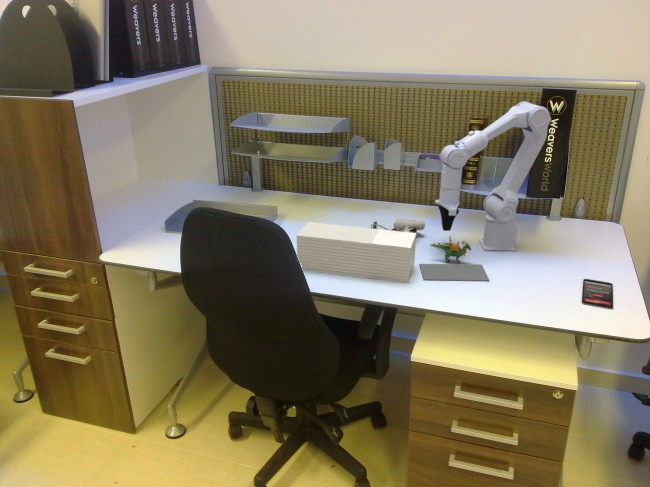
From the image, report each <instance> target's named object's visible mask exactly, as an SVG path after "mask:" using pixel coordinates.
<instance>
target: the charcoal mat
mask: <svg viewBox="0 0 650 487" xmlns="http://www.w3.org/2000/svg"><path fill="white" fill-rule="evenodd" d="M419 269H420V273H421V276H422V280H423V281H433V282H434V281H437V282H438V281H441V282H442V281H443V282H444V281H445V282H446V281H448V282H449V281H450V282H451V281H452V282H490V280H491V279H490V278H489V276H488V274H487V272H486V271H485V268H484V266H483V264H476V263H475V264H474V263H473V264H470V263H469V264H465V263H462V264H461V263H460V264H459V263H457V264H455V263H419Z"/></svg>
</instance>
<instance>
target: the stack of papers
mask: <svg viewBox="0 0 650 487" xmlns="http://www.w3.org/2000/svg"><path fill="white" fill-rule="evenodd" d="M416 236H417V235H416V233H412V232H402V231H392V230H391V229H389V230H386V229H383V228H382V229H381V228H380V229H379V228H376V229H373V227H372V228H371V227H361V226H351V225H340V224H331V223H322V222H313V221H307V223H306V224H305V225H304V226H303V227H302V229H300V231H299V232H298V233H297V234H296V257H297V256H298V258H299V261H300V263H301V265H302V269H303V270H302V271H309V272H318V273H327V274H334V275H339V276H341V275H342V276H349V277H350V276H351V277H357V278H358V277H359V278H367V279H372V280H373V279H375V280H382V281H389V282H398V283H406V284H409V283H410V281H411V277H412V274H413V271H414V268H415V260H416V259H415V257H416V255H415V254H416V246H417V245H416V243H417V238H416Z"/></svg>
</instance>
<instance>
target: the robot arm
mask: <svg viewBox="0 0 650 487" xmlns="http://www.w3.org/2000/svg"><path fill="white" fill-rule="evenodd" d="M551 121H552V117H551V115H550V112H549V110H548V109H547V108H546V107H544V106H542V105H538V104H534V103H530V101H524V100H523V101H521V102H519V103H517V104H516V105H513V106H512V107H510V108H509V110H508V111H507V112H506V113H505V114H503V115H502V116H500V117H499V118H498V119H496V120H495V121H494V122H493V123H490V124H489V125H488V126H487V127H486V128H483V130H477V129H476V130H474V131H473V130H471V131H468V135H466V136H464V137H463V138H461V139H460V140H456V141H454V144H449V145H446V146H444V147H443V148H442V150H441V153H439V160H440V161H441V163H442V167H441V178H440V188H439V189H440V190H439V199H435V200H434V203H435V204H436V205H438V206H437V207H438V210H439V212H440V218H441V228H442V230H443V232H444V231H447V232H449V231H452V230H451V229H452V227H453V223H454V221H455V219H456V217H457V215H458V214H459V212H460V211H459V206H460V204H461V203H460V195H461V184H462V177H463V176H462V175H463V174H462V173H463V168H464V167H465V165H466V164H467V163H468V160H469V159H470V158H472V157H474V156H475V155H476V154H477V153H480V152H481V151H483V150H484V149H486V148H487V147H488V144H489V142H490V141H491V140H493V139H494V138H496V137H499V136H500V135H502V134H504V133H505V132H506V131H509V130H511V129H512V128H521V131H522V132H523V135H524V139H523V142H522V143H521V145H520V147H519V149H518V150H517V152H516V155H515V157H514V158H513V160H512V162H511V164H510V166H509V167H508V170H507V172H506V173H505V176H503V177H504V178H503V179H502V180H501V183H500V184H499V185H498V186H496V187H494V188H493V189H492V190H491V192H490V194H489V195H487V196H486V197H485V198H484V200H483V204H482V207H483V209H484V211H485V221H484V222H485V223H484V228H483V229H484V230H483V238H479V242H480V244H481V246H482V248H483V250H484V251H516V243H517V235H518V223H517V222H518V221H517V219H516V218H515V216H516V213H517V207H518V205H519V198H518V197H519V196H518V192H519V191H520V189H521V186H522V185H523V183H524V181H525V180H526V177H527V176H528V174H529V172H530V170H531V168H532V166H533V165H534V163H535V160H537V159H536V158H537V157H538V155H539V154H540V151H541V149H542V148H543V146H544V144H545V142H546V141H547V140H546V139H547V136H548V130H549V129H548V127H549V125H550V123H551Z"/></svg>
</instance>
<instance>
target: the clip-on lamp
mask: <svg viewBox="0 0 650 487" xmlns="http://www.w3.org/2000/svg"><path fill="white" fill-rule="evenodd" d="M377 227H379V228H380V227H381V228H382V229H383V230H392V231H402V232H412V233H416V239H417V237H420V235H421V234H420V233H419V232H418V231H423V230H424V229H425V227H426V223H425V221H424V220H423V219H406V218H405V217H398V218H396V220H395V221H394V223H393V228H391V229H389V228H387V227H385V226H382V225H380V224H378V221H377V220H374V221H373V223H372V224H371V225H370V228H372V229H378V228H377Z"/></svg>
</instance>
